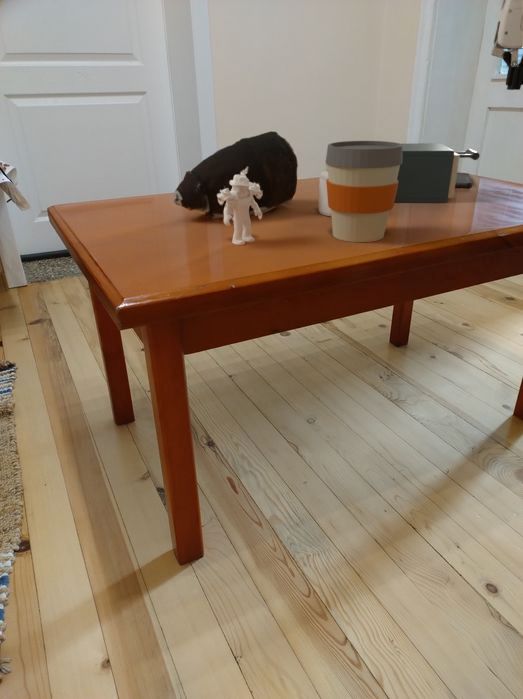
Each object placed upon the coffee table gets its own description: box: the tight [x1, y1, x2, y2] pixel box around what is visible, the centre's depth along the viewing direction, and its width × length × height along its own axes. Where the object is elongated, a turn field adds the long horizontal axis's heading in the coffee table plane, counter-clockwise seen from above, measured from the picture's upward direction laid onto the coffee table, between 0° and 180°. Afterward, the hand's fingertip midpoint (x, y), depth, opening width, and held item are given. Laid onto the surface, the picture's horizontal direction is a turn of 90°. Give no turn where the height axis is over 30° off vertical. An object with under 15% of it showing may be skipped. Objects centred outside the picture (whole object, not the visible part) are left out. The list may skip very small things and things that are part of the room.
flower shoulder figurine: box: [217, 167, 263, 246], centre depth 85 cm, size 9×4×12 cm, turn 135°
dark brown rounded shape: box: [172, 130, 299, 220], centre depth 104 cm, size 15×15×25 cm
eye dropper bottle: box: [317, 158, 331, 217], centre depth 102 cm, size 4×6×12 cm
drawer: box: [447, 148, 480, 199], centre depth 116 cm, size 20×13×9 cm, turn 84°
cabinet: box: [394, 142, 455, 204], centre depth 116 cm, size 16×14×11 cm
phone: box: [455, 172, 473, 189], centre depth 133 cm, size 8×1×15 cm
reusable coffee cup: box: [325, 140, 403, 243], centre depth 87 cm, size 13×12×15 cm
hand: (513, 89), depth 102 cm, fingers closed
